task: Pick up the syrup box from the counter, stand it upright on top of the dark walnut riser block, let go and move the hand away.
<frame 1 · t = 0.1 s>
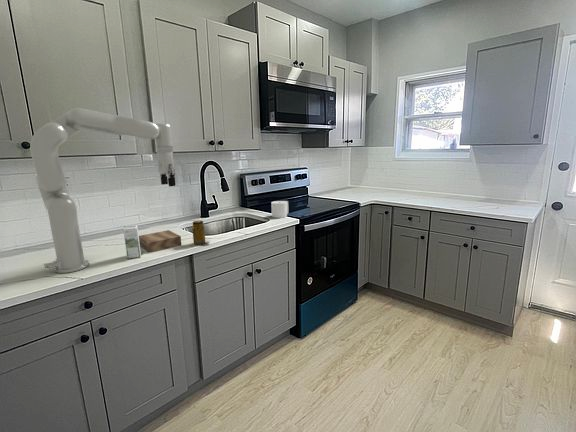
hand: (168, 185, 159), 31 cm above the countertop, tool pointing down, fingers open, 9 cm apart
condiment: (201, 244, 168), on the countertop
toilet tissue: (279, 216, 225), on the countertop
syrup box: (134, 256, 150), on the countertop
walnut riser: (160, 245, 166), on the countertop
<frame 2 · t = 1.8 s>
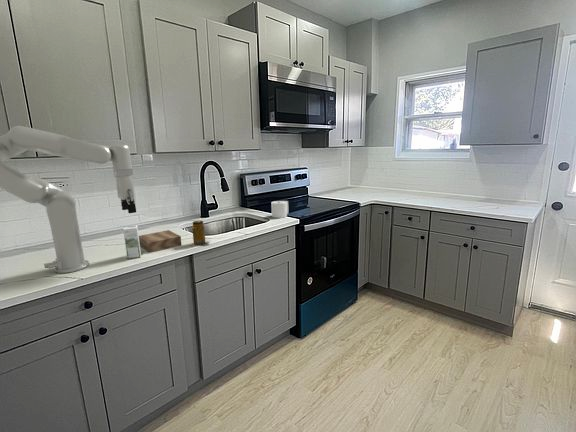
hand: (129, 211, 145), 22 cm above the countertop, tool pointing down, fingers open, 9 cm apart
nothing on the countertop moved.
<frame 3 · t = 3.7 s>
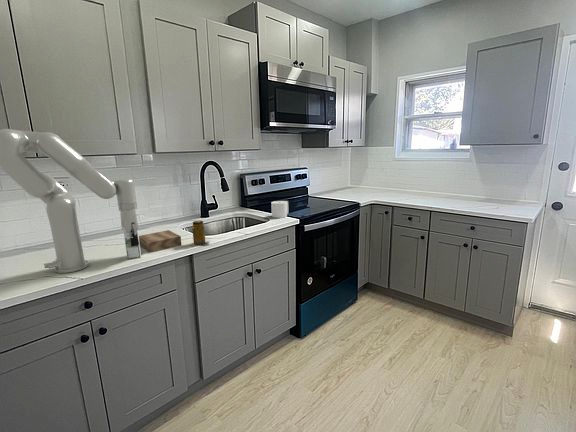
hand: (132, 243, 149), 6 cm above the countertop, tool pointing down, fingers closed on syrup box, 7 cm apart
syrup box: (134, 256, 150), on the countertop, touching gripper
everything else where it was.
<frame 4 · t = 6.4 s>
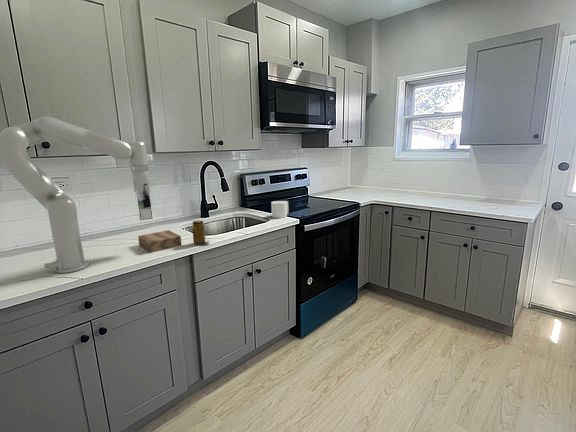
hand: (145, 205, 154), 22 cm above the countertop, tool pointing down, fingers closed on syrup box, 7 cm apart
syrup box: (146, 218, 155), point 16 cm above the countertop, touching gripper
everything else where it was.
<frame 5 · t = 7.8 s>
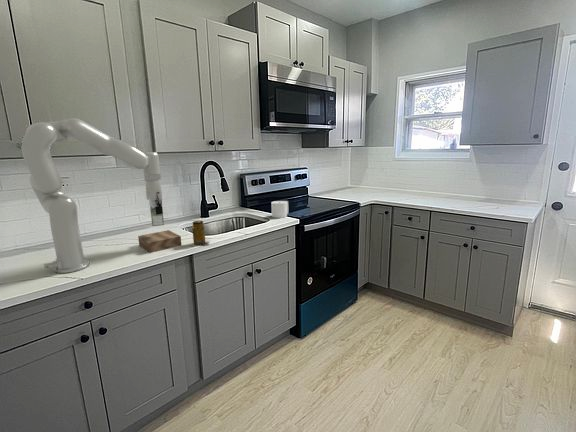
hand: (156, 212, 162), 17 cm above the countertop, tool pointing down, fingers closed on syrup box, 7 cm apart
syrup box: (158, 225, 163), point 11 cm above the countertop, touching gripper
everything else where it was.
when the fingers open (12 cm above the countertop, at t = 9.2 s): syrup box drops 1 cm, resting on walnut riser.
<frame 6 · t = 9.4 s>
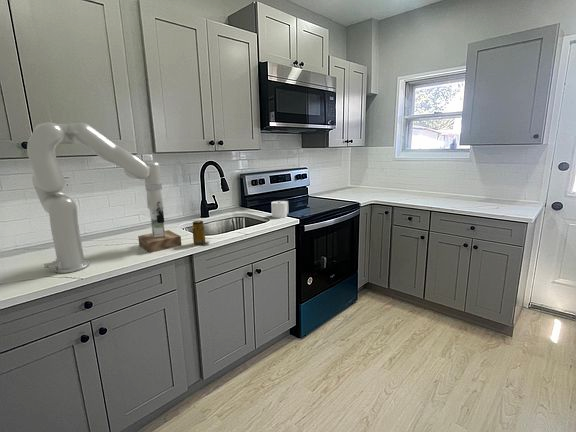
hand: (157, 221, 163), 13 cm above the countertop, tool pointing down, fingers open, 9 cm apart
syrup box: (159, 236, 164), point 5 cm above the countertop, touching walnut riser
everything else where it was.
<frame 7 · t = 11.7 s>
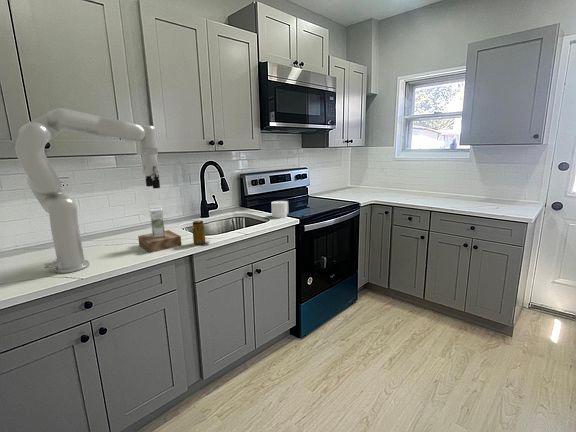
hand: (153, 187, 158), 30 cm above the countertop, tool pointing down, fingers open, 9 cm apart
nothing on the countertop moved.
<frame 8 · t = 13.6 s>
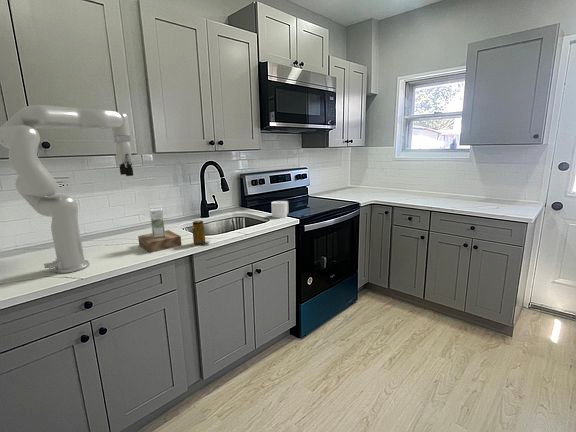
hand: (126, 175, 159), 36 cm above the countertop, tool pointing down, fingers open, 9 cm apart
nothing on the countertop moved.
at the end: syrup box inside the target area on the walnut riser (0.3 cm from its centre), point 4.8 cm above the walnut riser's base; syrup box tilted 0°; the gripper is holding nothing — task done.
